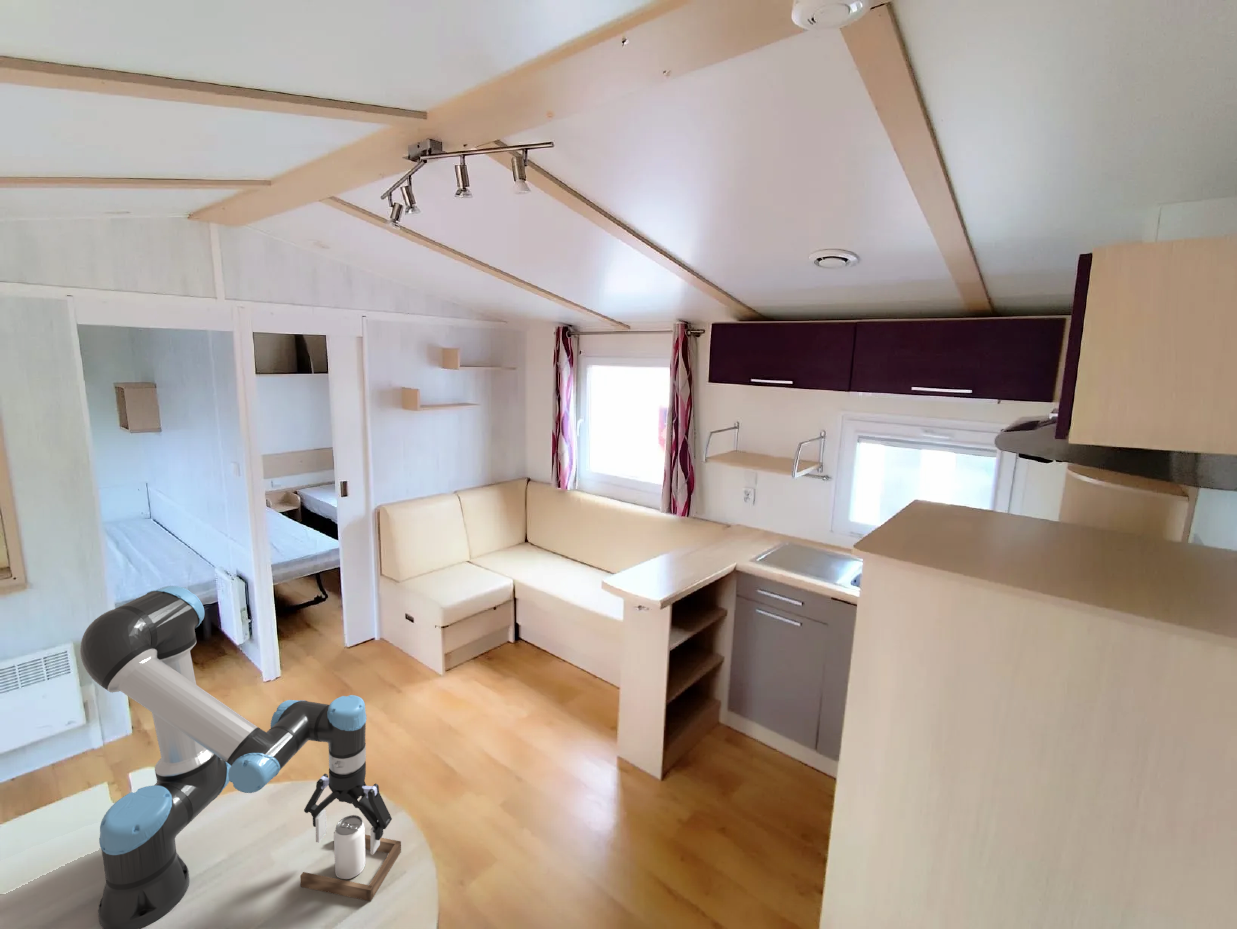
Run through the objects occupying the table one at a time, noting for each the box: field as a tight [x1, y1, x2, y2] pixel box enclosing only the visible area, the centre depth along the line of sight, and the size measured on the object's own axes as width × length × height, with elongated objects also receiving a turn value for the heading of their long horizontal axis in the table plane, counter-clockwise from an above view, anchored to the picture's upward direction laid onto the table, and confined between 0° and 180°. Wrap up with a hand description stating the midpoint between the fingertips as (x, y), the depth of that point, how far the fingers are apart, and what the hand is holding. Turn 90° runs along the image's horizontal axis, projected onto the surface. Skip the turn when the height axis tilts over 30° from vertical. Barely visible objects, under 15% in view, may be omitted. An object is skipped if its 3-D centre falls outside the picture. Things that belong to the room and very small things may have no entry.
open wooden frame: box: [299, 834, 402, 902], centre depth 134 cm, size 17×13×3 cm
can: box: [333, 814, 366, 880], centre depth 133 cm, size 6×6×12 cm
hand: (348, 843), depth 133 cm, fingers open, 13 cm apart
